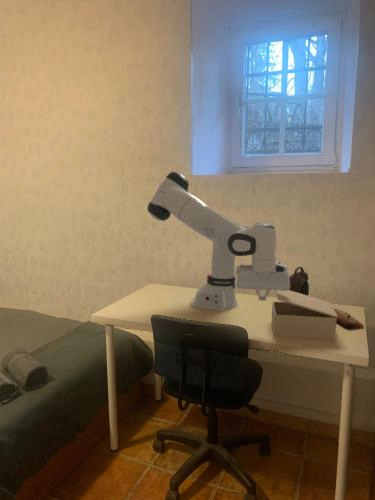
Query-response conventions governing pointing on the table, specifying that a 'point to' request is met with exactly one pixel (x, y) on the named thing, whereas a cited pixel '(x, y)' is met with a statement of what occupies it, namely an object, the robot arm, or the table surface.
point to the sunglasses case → (347, 320)
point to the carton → (301, 322)
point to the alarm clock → (299, 282)
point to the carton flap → (306, 302)
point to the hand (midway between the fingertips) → (262, 300)
